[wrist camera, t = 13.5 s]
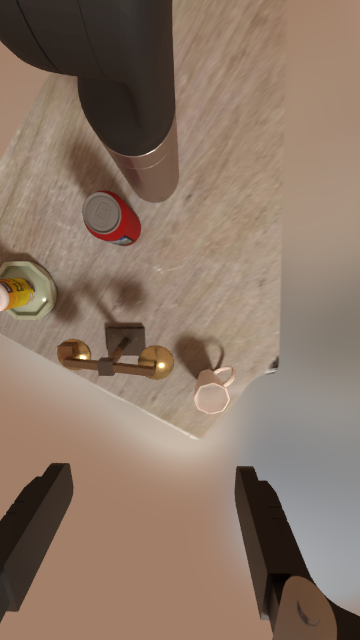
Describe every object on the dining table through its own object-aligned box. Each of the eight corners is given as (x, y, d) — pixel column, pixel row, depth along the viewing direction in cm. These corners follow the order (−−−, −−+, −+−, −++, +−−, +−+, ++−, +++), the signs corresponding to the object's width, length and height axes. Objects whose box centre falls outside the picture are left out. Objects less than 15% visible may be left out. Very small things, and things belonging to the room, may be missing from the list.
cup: (185, 376, 49) (186, 397, 41) (219, 349, 47) (226, 366, 39) (205, 396, 50) (209, 421, 42) (239, 371, 48) (250, 391, 40)
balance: (80, 353, 48) (36, 389, 34) (76, 327, 46) (29, 354, 32) (176, 353, 47) (172, 390, 33) (176, 327, 46) (172, 355, 32)
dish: (-6, 260, 43) (-14, 260, 41) (52, 260, 43) (47, 260, 41) (6, 318, 46) (-1, 320, 44) (60, 318, 46) (56, 320, 44)
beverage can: (101, 235, 42) (69, 224, 30) (115, 202, 40) (88, 176, 28) (132, 252, 42) (113, 247, 31) (147, 220, 41) (133, 202, 29)
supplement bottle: (42, 287, 43) (1, 294, 33) (31, 309, 44) (-13, 322, 35) (17, 271, 43) (-33, 273, 33) (6, 294, 44) (-46, 302, 34)
